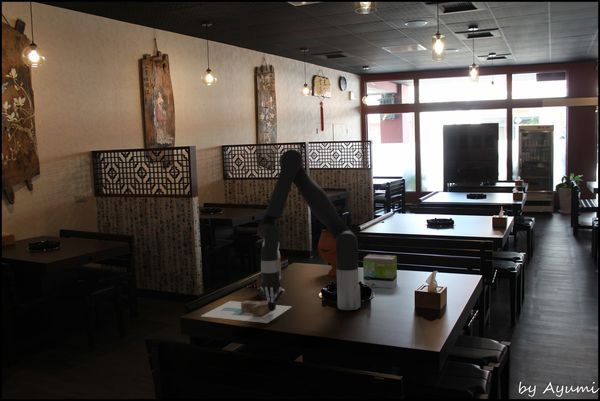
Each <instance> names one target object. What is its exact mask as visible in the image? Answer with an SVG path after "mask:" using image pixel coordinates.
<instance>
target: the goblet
mask: <svg viewBox="0 0 600 401" xmlns="http://www.w3.org/2000/svg"><path fill="white" fill-rule="evenodd" d="M317 251H318V254H319V255H320V257H321V258H322V259H323V260H324V261H325V262H327V263H329V264H330V267H331V269H329V270H328V273H327V274H328V276H332V277H334V276H335V277H337V268H336V243H335V241H334V239H333V237H332V235H331V233H330V232H329V230H328V229H327V228H325V229H322V230H321V234H320V237H319V241H318V245H317Z"/></svg>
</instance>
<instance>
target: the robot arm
mask: <svg viewBox="0 0 600 401" xmlns="http://www.w3.org/2000/svg"><path fill="white" fill-rule="evenodd" d="M302 156H303V155H302V154H301V153H300V151H299V150H297V149H293V148H291V149H287V150H286V151H284V152H283V153H282V154H281V155H280V156H279V160H278V165H279V167H280V170H279V174H278V178H277V181H276V183H275V186H274V188H273V190H272V192H271V195H270V198H269V201H268V204H267V207H266V210H265V213H264V214H263V216H262V217H261V219H260V221H259V223H258V226H257V230H256V231H257V232H256V233H257V235H258V237H259V238H260V239H262V240H264V239H265V242H264V246H263V245H262V247H261V249H260V257H261V258H260V271H261V272H260V274H261V276H262V285H261V287H260V288H258V289H257V288H256V291H257V294H258V293H259V294H260V295H261V296H260V295H259V296H260V297H261V298H262V300H263V301H268V308H269V309H270V311H274V310H275V309H276V305H277V302H278V301H280V299H281V298H282V296H283V295H284V294H285V293H286V291H287V290H286V289H285V288H283V287H282V286H281V283H280V280H281V279H280V278H279V263H278V252H277V248H278V244H279V245H280V238H281V235H280V230H279V228H278V227H279V226H277V225H276V222H277V221H278V220H280V219H281V218H282V216H283V213H284V211H285V207H286V205H287V200H288V198H289V195H290V194H289V192H291V187H292V185H293V184H294V186H295V187H296V188H297V190H298V192H299V194H300V196H301V197H302V198H303V200H304V201H305V203H306V205H307V206H308V208H309V209H310V211H311V212H312V214H313V215H314V216H315V217H316V218H317V219H318V220H319V221H320V222H321V223H322V224H323V225H324V226H325V227H326V229H328V230H329V232H330V233H331V235H332V237H333V239H334V241H335V243H336V268H337V276H336V291H337V292H336V293H337V294H336V295H337V309H338V310H342V311H354V310H355V311H357V310H358V309H359V308H361V307H362V306H361V286H360V285H361V284H359V247H358V245H359V243H358V242H359V241H358V239H357V236H356V234H355V233H354V232H352V230H351V229H350V228H349V227H348V226H347V224H346V223H345V222H344V221H343V220H342V219H341V216H340V215H339V212H338V211H337V209H336V208H335V205H334V204H333V202H332V201H331V199H330V197H329V196H328V194H327V193H326V192H325V191H324V189H323V188H322V187H321V186H320V184H318V183H317V182H316V181H315V180H314V179H313V178H312V177H311V176H310V175H309V174H308V172H307V171H306V169H305V168H304V166H303V157H302ZM264 291H265V292H266V293H265V292H264Z"/></svg>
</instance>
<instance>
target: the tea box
mask: <svg viewBox="0 0 600 401" xmlns="http://www.w3.org/2000/svg"><path fill="white" fill-rule="evenodd" d="M397 261H398V259H397V255H390V254H389V255H386V254H383V255H382V254H367V255H366V256H364V257H363V258H362V269H363V270H362V271H363V272H362V273H363V285H364V284H365V285H367V286H366V287H370V288H371V287H373V288H384V289H394V287H396V286H397V284H398V283H397V282H398V272H397V271H398V270H397V269H398V266H397V265H398V262H397Z"/></svg>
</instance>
